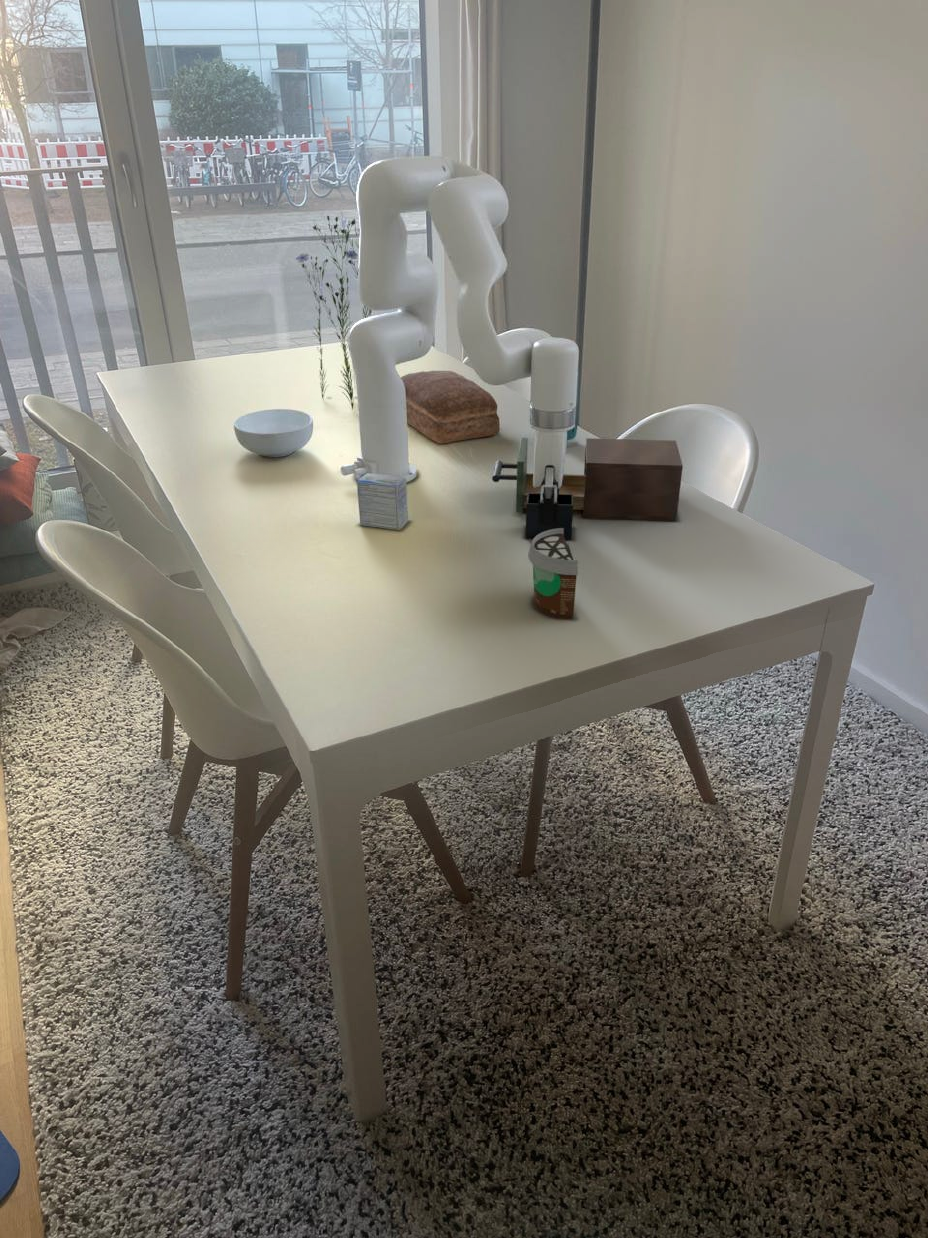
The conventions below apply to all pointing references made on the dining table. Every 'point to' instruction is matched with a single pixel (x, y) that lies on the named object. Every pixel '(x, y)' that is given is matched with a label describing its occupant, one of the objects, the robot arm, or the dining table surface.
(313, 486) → the dining table surface
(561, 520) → the dark glass display case
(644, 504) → the cabinet
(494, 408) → the bread
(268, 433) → the cereal bowl
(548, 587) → the food container
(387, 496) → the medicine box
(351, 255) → the wildflower
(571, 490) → the drawer
